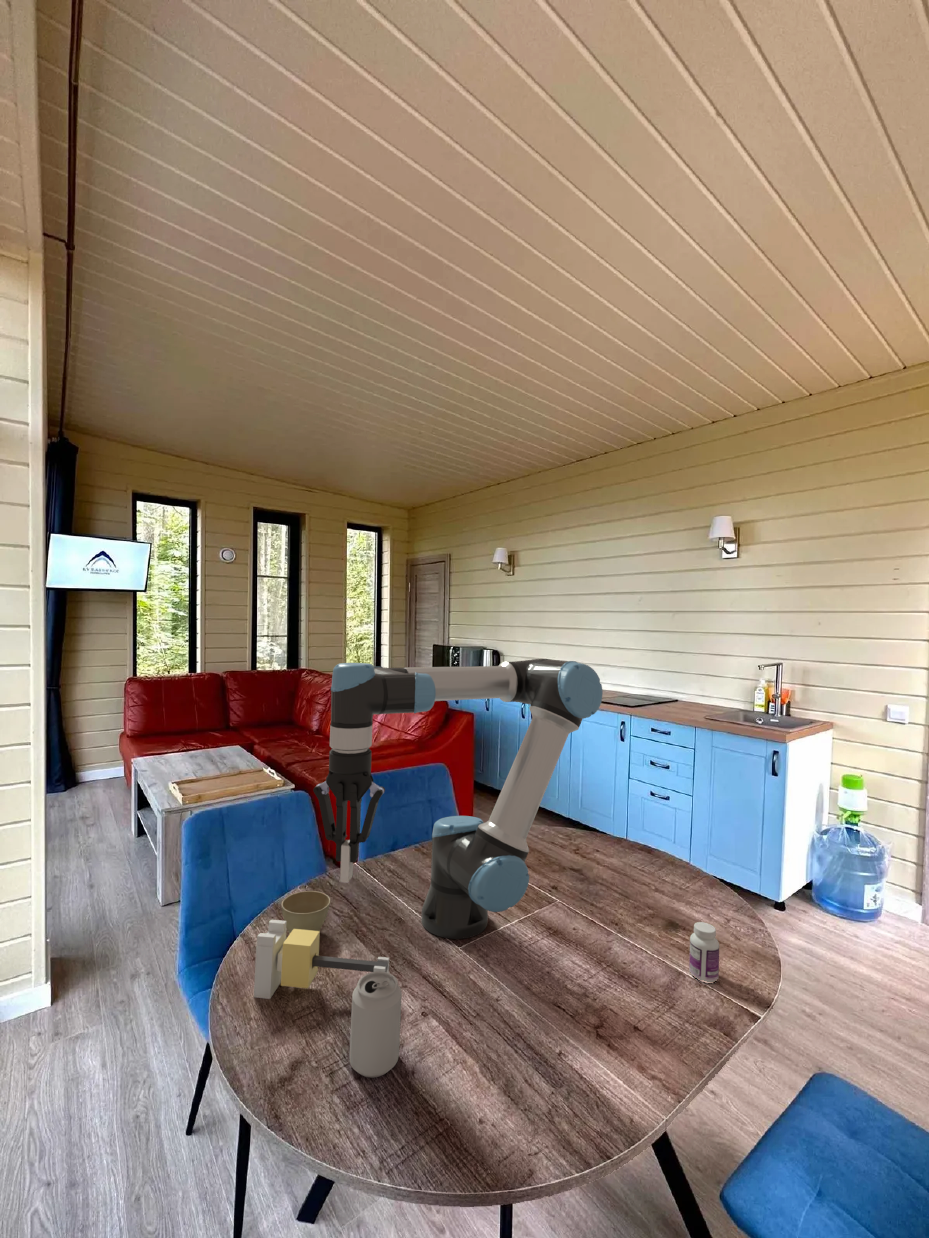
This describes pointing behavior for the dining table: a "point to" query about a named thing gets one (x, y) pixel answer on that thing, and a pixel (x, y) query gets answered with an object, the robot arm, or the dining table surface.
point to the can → (375, 1024)
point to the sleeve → (299, 958)
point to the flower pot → (305, 910)
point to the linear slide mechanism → (271, 961)
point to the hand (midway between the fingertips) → (346, 878)
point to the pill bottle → (704, 952)
